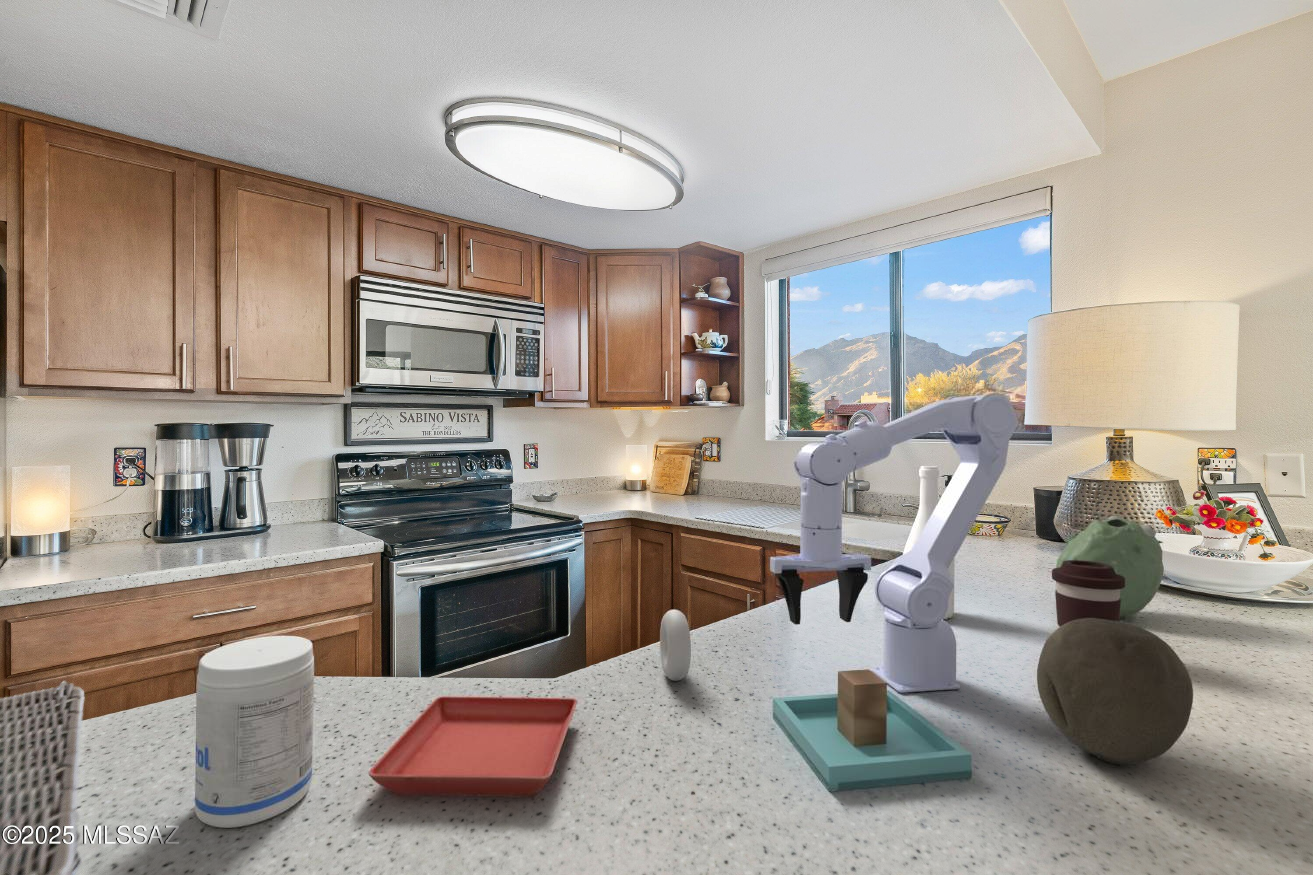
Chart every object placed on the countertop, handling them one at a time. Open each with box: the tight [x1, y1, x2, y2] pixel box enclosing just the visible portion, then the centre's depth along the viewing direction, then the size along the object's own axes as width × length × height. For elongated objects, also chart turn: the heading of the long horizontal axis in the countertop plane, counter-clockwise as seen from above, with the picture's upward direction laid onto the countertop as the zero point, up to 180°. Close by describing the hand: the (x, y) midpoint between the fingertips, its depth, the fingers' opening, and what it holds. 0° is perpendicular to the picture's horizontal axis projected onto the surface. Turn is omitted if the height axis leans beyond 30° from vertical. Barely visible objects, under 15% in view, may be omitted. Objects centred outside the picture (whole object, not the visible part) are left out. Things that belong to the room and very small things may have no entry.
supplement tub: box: [194, 635, 315, 829], centre depth 58 cm, size 10×10×15 cm
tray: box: [772, 689, 973, 792], centre depth 70 cm, size 16×16×2 cm
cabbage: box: [1055, 515, 1165, 618], centre depth 121 cm, size 16×19×20 cm
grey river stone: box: [1036, 618, 1194, 766], centre depth 68 cm, size 14×14×15 cm
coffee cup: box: [1051, 560, 1125, 628], centre depth 100 cm, size 10×10×15 cm
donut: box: [659, 608, 692, 682], centre depth 89 cm, size 10×4×10 cm, turn 9°
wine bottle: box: [902, 465, 956, 620], centre depth 121 cm, size 10×10×30 cm
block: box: [837, 668, 888, 747], centre depth 70 cm, size 4×4×7 cm
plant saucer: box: [367, 696, 579, 798], centre depth 67 cm, size 18×18×3 cm
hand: (820, 621), depth 86 cm, fingers open, 7 cm apart
